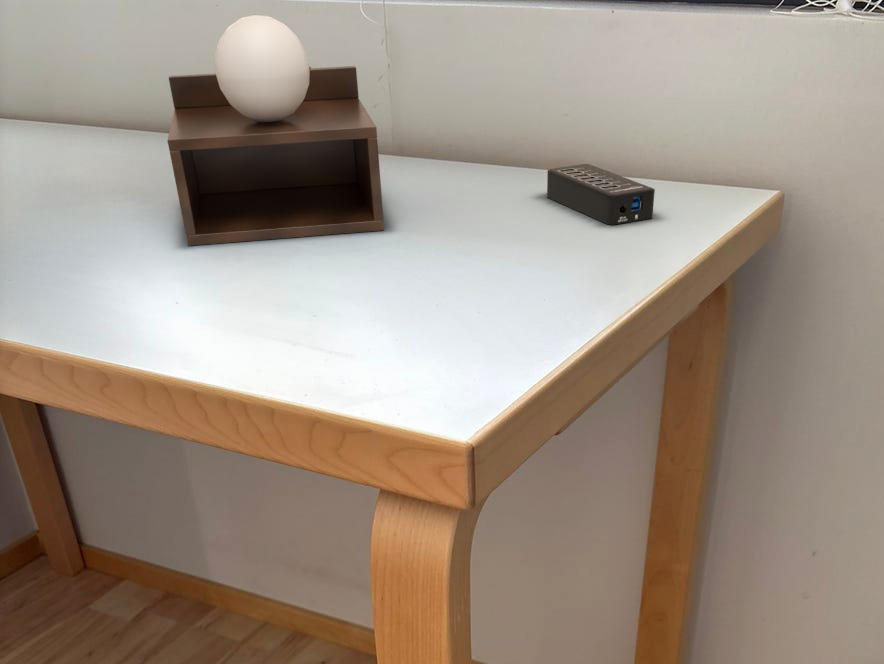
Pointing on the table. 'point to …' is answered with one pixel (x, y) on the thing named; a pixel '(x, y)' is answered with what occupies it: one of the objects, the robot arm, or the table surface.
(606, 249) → the table surface
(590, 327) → the table surface
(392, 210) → the table surface
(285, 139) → the shelf
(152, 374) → the table surface
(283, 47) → the cream oval egg shape
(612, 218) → the multiport hub
